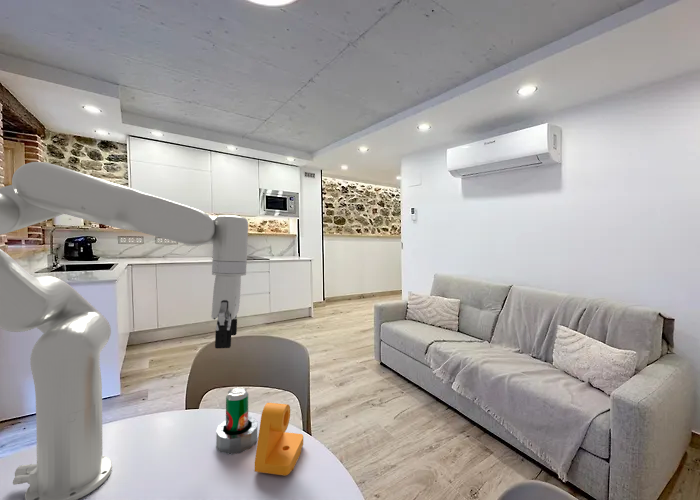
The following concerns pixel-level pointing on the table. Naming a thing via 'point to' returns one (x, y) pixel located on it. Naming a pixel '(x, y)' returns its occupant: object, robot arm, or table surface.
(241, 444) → the rosette ring
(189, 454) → the table surface
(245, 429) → the soda can
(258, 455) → the bracket
